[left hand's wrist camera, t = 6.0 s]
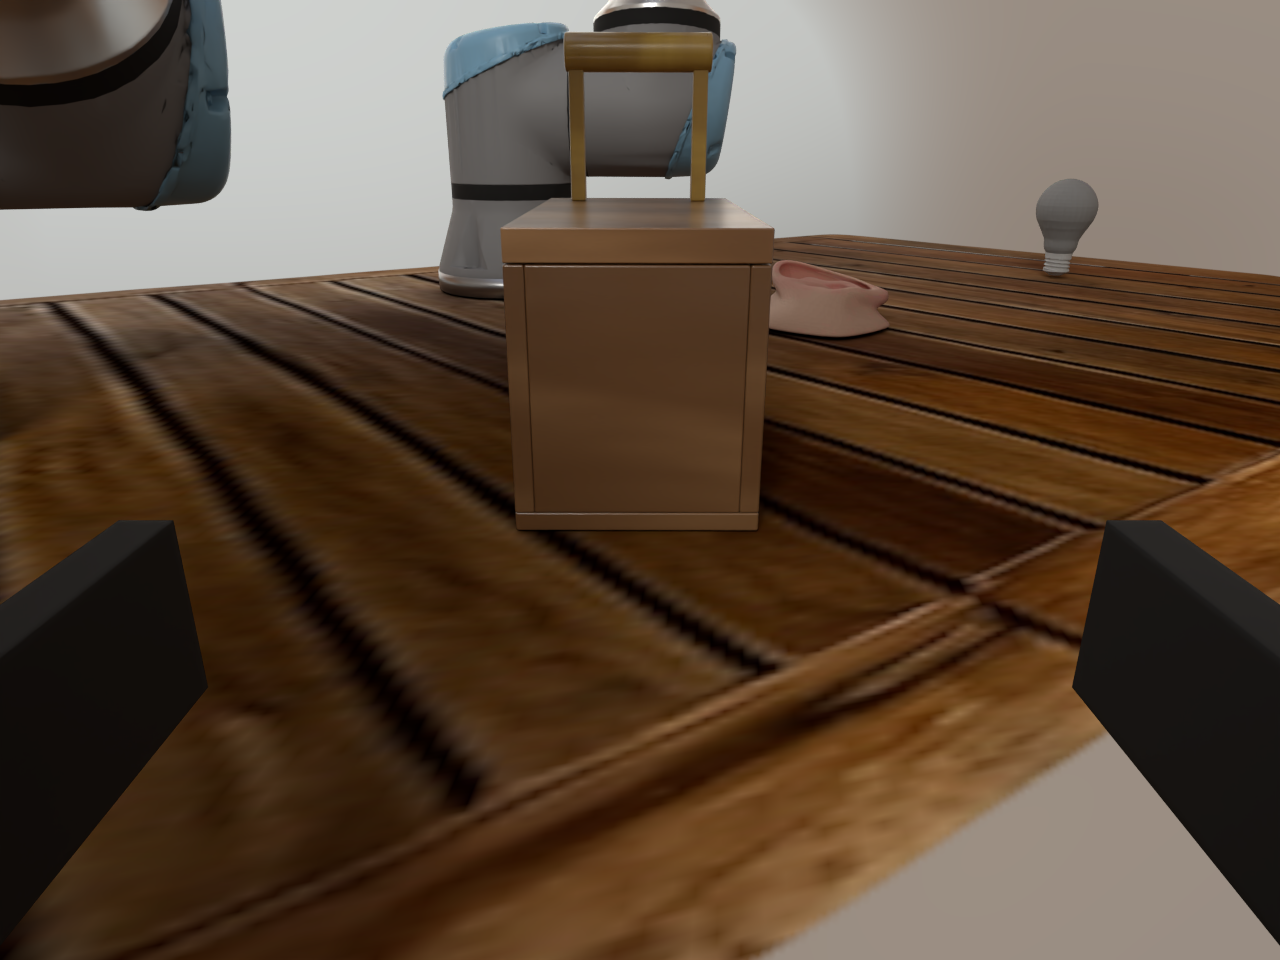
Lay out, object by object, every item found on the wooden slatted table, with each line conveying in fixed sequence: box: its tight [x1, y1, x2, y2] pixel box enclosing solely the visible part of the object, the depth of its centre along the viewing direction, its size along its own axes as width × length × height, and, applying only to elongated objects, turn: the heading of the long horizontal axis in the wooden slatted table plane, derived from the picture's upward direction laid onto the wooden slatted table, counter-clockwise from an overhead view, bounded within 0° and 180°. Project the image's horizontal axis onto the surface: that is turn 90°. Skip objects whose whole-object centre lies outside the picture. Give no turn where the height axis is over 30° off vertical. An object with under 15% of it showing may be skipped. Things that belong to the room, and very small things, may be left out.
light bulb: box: [1036, 179, 1098, 276], centre depth 94 cm, size 6×6×10 cm
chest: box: [502, 263, 772, 530], centre depth 39 cm, size 17×9×10 cm, turn 0°
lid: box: [500, 32, 775, 264], centre depth 36 cm, size 17×9×8 cm, turn 0°
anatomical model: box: [769, 260, 889, 337], centre depth 70 cm, size 13×4×12 cm
